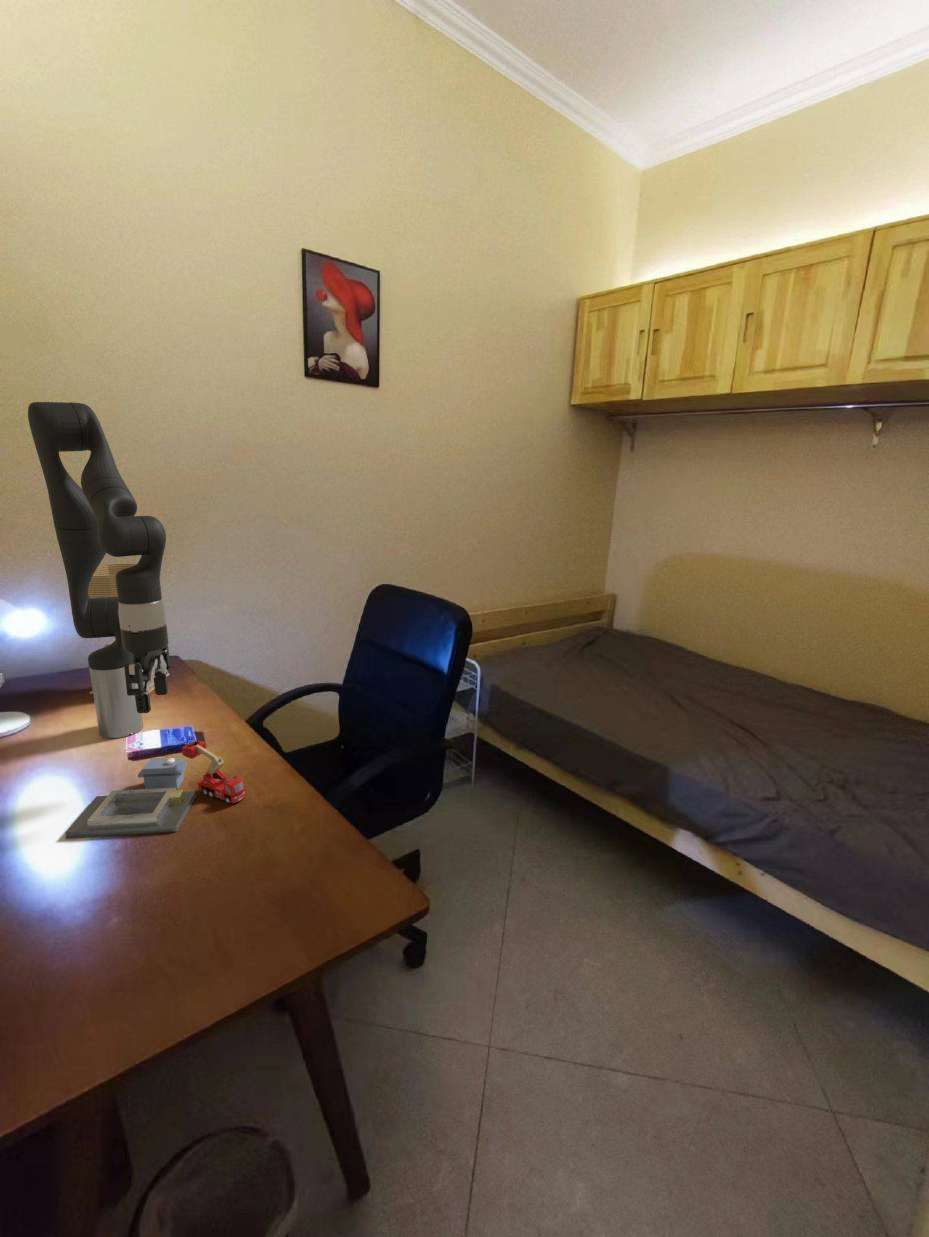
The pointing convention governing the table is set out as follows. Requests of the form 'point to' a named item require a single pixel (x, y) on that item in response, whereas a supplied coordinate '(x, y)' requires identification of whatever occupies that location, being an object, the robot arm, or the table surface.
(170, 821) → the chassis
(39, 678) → the table surface
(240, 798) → the toy fire truck
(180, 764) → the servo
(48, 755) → the table surface
